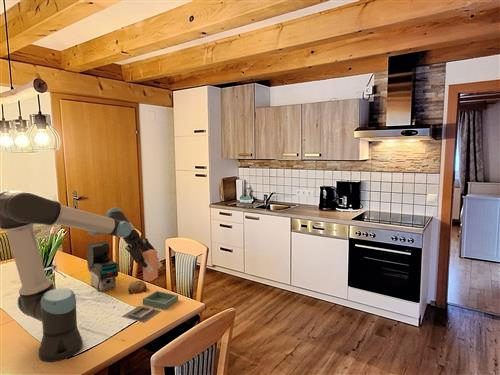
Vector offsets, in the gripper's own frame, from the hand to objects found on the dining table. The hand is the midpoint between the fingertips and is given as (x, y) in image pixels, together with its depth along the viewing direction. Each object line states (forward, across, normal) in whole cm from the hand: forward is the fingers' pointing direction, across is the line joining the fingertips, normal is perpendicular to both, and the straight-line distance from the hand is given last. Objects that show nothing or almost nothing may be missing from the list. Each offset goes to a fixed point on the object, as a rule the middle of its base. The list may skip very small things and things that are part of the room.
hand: (156, 269), depth 157 cm
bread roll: (-3, -14, -34) cm, 37 cm away
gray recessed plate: (+12, +7, -18) cm, 23 cm away
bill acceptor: (-19, -11, -51) cm, 55 cm away
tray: (+13, -6, -18) cm, 23 cm away
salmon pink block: (+1, 0, -6) cm, 7 cm away
